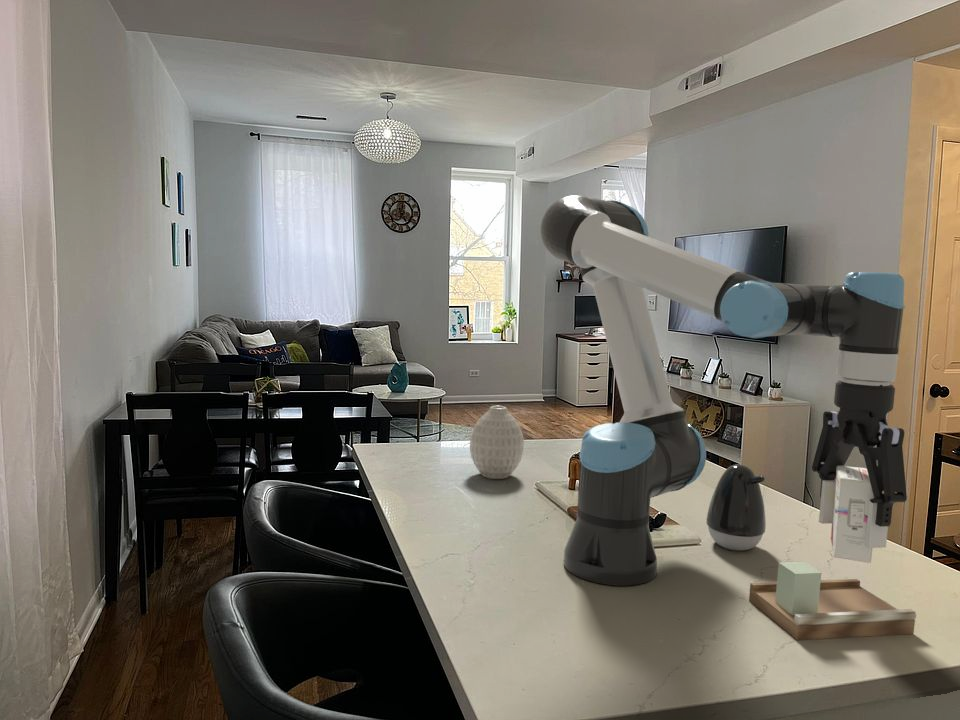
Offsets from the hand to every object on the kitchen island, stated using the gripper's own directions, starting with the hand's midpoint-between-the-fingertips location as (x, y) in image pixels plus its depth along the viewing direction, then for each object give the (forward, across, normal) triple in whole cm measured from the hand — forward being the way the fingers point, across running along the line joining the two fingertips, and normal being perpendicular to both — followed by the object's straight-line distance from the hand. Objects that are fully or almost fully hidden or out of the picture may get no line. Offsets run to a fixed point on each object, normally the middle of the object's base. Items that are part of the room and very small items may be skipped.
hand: (850, 534), depth 106 cm
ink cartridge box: (+3, 0, 0) cm, 3 cm away
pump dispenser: (+12, +27, +2) cm, 30 cm away
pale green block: (+10, -2, +9) cm, 14 cm away
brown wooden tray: (+12, -1, +3) cm, 12 cm away
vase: (+12, +75, +37) cm, 85 cm away
